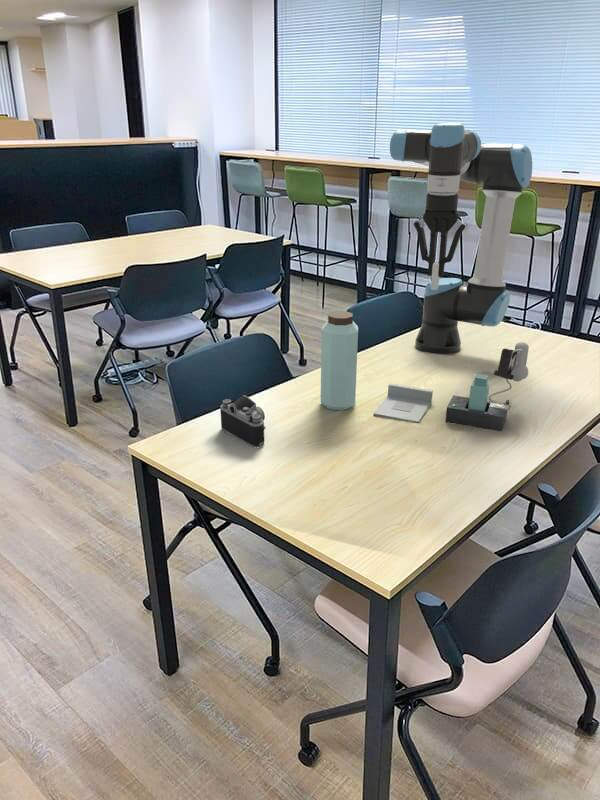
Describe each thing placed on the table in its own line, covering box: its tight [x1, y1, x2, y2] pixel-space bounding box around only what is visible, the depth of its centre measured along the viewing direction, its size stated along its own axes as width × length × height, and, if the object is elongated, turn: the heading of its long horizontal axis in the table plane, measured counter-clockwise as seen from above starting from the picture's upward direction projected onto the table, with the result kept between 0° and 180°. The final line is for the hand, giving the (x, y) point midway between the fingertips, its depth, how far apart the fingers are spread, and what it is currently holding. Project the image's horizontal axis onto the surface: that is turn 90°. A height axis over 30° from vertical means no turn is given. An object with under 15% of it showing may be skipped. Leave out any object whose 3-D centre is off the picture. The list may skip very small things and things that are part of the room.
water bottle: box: [320, 310, 359, 411], centre depth 166 cm, size 10×10×25 cm
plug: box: [468, 373, 491, 412], centre depth 158 cm, size 4×4×12 cm
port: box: [444, 395, 512, 432], centre depth 160 cm, size 8×15×5 cm, turn 66°
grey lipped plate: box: [373, 383, 433, 424], centre depth 167 cm, size 14×12×4 cm
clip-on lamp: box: [488, 341, 530, 405], centre depth 165 cm, size 12×6×18 cm, turn 135°
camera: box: [219, 394, 266, 449], centre depth 153 cm, size 16×8×10 cm, turn 42°
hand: (434, 288), depth 163 cm, fingers closed
